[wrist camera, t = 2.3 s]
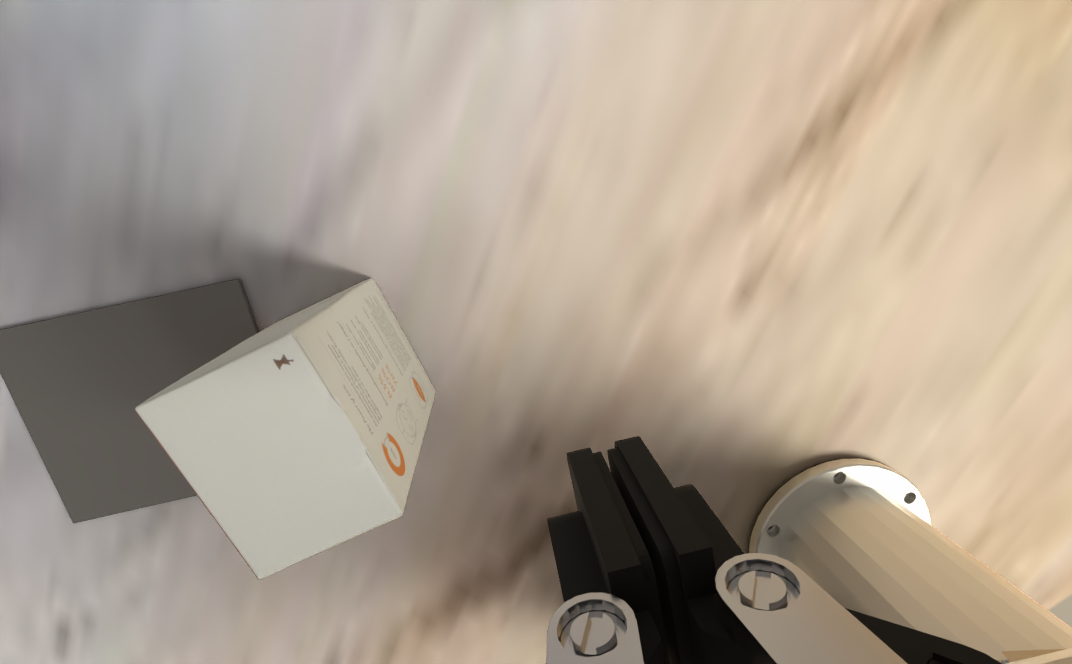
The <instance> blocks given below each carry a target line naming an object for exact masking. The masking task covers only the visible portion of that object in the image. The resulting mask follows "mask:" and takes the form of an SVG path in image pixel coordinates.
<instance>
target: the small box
mask: <svg viewBox="0 0 1072 664" xmlns="http://www.w3.org/2000/svg"><path fill="white" fill-rule="evenodd" d="M435 395H436V391H435V389H434V387H433V385H432V384H431V382H430V380H429V378H428V376H427V375H426V373H425V371H424V369H423V367H422V365H421V363H420V362H419V360H418V358H417V356H416V354H415V353H414V351H413V349H412V347H411V345H410V343H409V342H408V340H407V338H406V336H405V335H404V333H403V331H402V329H401V327H400V326H399V324H398V322H397V320H396V318H395V316H394V315H393V313H392V311H391V309H390V308H389V306H388V304H387V302H386V300H385V299H384V297H383V295H382V293H381V292H380V290H379V288H378V286H377V285H376V283H375V281H374V279H373V278H369V279H367V280H364V281H362V282H360V283H358V284H356V285H354V286H352V287H350V288H348V289H345V290H343V291H341V292H339V293H337V294H335V295H333V296H331V297H328V298H326V299H324V300H322V301H320V302H318V303H316V304H314V305H312V306H309V307H307V308H305V309H303V310H301V311H299V312H297V313H295V314H292V315H290V316H288V317H286V318H284V319H282V320H280V321H278V322H276V323H274V324H273V325H271V326H269V327H267V328H266V329H264V330H262V331H260V332H259V333H257V334H255V335H253V336H252V337H250V338H248V339H246V340H245V341H243V342H241V343H240V344H238V345H236V346H235V347H233V348H231V349H230V350H228V351H227V352H225V353H223V354H222V355H220V356H218V357H217V358H215V359H213V360H211V361H210V362H208V363H206V364H205V365H203V366H201V367H200V368H198V369H196V370H195V371H193V372H191V373H190V374H188V375H186V376H185V377H183V378H181V379H180V380H178V381H176V382H175V383H173V384H171V385H170V386H168V387H166V388H165V389H163V390H162V391H160V392H158V393H157V394H155V395H154V396H152V397H150V398H149V399H147V400H146V401H144V402H143V403H141V404H140V405H138V406H137V407H136V408H135V411H136V413H137V414H138V415H139V417H140V418H141V419H142V421H143V422H144V423H145V425H146V426H147V427H148V429H149V430H150V431H151V433H152V434H153V436H154V437H155V438H156V440H157V441H158V443H159V444H160V445H161V447H162V448H163V449H164V451H165V452H166V453H167V455H168V456H169V457H170V459H171V460H172V462H173V463H174V464H175V466H176V467H177V469H178V470H179V471H180V473H181V474H182V475H183V477H184V478H185V479H186V481H187V482H188V483H189V485H190V486H191V487H192V489H193V490H194V492H195V493H196V494H197V496H198V497H199V498H200V500H201V501H202V503H203V504H204V505H205V507H206V508H207V509H208V511H209V512H210V513H211V515H212V516H213V518H214V519H215V520H216V522H217V523H218V524H219V526H220V527H221V528H222V530H223V531H224V533H225V534H226V535H227V537H228V538H229V539H230V541H231V542H232V544H233V545H234V546H235V548H236V549H237V550H238V552H239V553H240V555H241V556H242V557H243V559H244V560H245V562H246V563H247V564H248V566H249V567H250V568H251V570H252V571H253V572H254V574H255V575H256V577H257V579H263V578H265V577H267V576H270V575H272V574H274V573H276V572H278V571H280V570H283V569H285V568H287V567H289V566H291V565H293V564H295V563H297V562H300V561H302V560H304V559H306V558H309V557H311V556H313V555H315V554H318V553H320V552H322V551H324V550H327V549H329V548H331V547H333V546H336V545H338V544H340V543H342V542H345V541H347V540H349V539H351V538H354V537H356V536H358V535H360V534H363V533H365V532H367V531H369V530H372V529H374V528H376V527H378V526H381V525H383V524H385V523H387V522H390V521H392V520H394V519H397V518H399V517H401V516H402V515H403V513H404V509H405V505H406V501H407V497H408V493H409V489H410V486H411V482H412V478H413V475H414V471H415V468H416V464H417V460H418V457H419V453H420V450H421V446H422V442H423V439H424V435H425V431H426V428H427V424H428V420H429V417H430V413H431V409H432V406H433V402H434V398H435Z"/></svg>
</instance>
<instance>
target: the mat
mask: <svg viewBox="0 0 1072 664" xmlns="http://www.w3.org/2000/svg"><path fill="white" fill-rule="evenodd" d="M257 333H259V332H258V329H257V326H256V323H255V320H254V318H253V315H252V312H251V309H250V306H249V303H248V300H247V298H246V295H245V292H244V289H243V286H242V283H241V280H240V279H236V280H231V281H226V282H222V283H217V284H212V285H208V286H203V287H198V288H194V289H189V290H184V291H180V292H175V293H170V294H166V295H161V296H156V297H152V298H147V299H142V300H138V301H133V302H128V303H124V304H119V305H114V306H110V307H105V308H100V309H96V310H91V311H86V312H82V313H77V314H72V315H68V316H63V317H58V318H54V319H49V320H44V321H40V322H35V323H30V324H26V325H21V326H16V327H12V328H7V329H2V330H0V373H1V375H2V377H3V379H4V381H5V384H6V386H7V388H8V390H9V392H10V394H11V396H12V398H13V400H14V402H15V404H16V406H17V408H18V410H19V412H20V414H21V417H22V419H23V421H24V423H25V425H26V427H27V429H28V431H29V433H30V435H31V437H32V439H33V441H34V443H35V445H36V447H37V450H38V452H39V454H40V456H41V458H42V460H43V462H44V464H45V466H46V468H47V470H48V472H49V474H50V476H51V478H52V480H53V483H54V485H55V487H56V489H57V491H58V493H59V495H60V497H61V499H62V501H63V503H64V505H65V507H66V509H67V511H68V513H69V516H70V518H71V520H72V522H73V523H77V522H82V521H86V520H91V519H95V518H99V517H104V516H108V515H112V514H117V513H121V512H126V511H130V510H134V509H139V508H143V507H148V506H152V505H156V504H161V503H165V502H169V501H174V500H178V499H183V498H187V497H191V496H196V495H197V494H196V493H195V492H194V490H193V489H192V487H191V486H190V485H189V483H188V482H187V481H186V479H185V478H184V477H183V475H182V474H181V473H180V471H179V470H178V469H177V467H176V466H175V464H174V463H173V462H172V460H171V459H170V457H169V456H168V455H167V453H166V452H165V451H164V449H163V448H162V447H161V445H160V444H159V443H158V441H157V440H156V438H155V437H154V436H153V434H152V433H151V431H150V430H149V429H148V427H147V426H146V425H145V423H144V422H143V421H142V419H141V418H140V417H139V415H138V414H137V413H136V411H135V408H136V407H137V406H138V405H140V404H141V403H143V402H144V401H146V400H147V399H149V398H150V397H152V396H154V395H155V394H157V393H158V392H160V391H162V390H163V389H165V388H166V387H168V386H170V385H171V384H173V383H175V382H176V381H178V380H180V379H181V378H183V377H185V376H186V375H188V374H190V373H191V372H193V371H195V370H196V369H198V368H200V367H201V366H203V365H205V364H206V363H208V362H210V361H211V360H213V359H215V358H217V357H218V356H220V355H222V354H223V353H225V352H227V351H228V350H230V349H231V348H233V347H235V346H236V345H238V344H240V343H241V342H243V341H245V340H246V339H248V338H250V337H252V336H253V335H255V334H257Z"/></svg>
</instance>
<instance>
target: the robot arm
mask: <svg viewBox="0 0 1072 664" xmlns="http://www.w3.org/2000/svg"><path fill="white" fill-rule="evenodd" d="M607 452H608V459H609V464H610V470H611V472H610V470H609V468H608V466H607V464H606V462H605V460H604V457H603V455H602V453H601V452H597V453H592V451H591V449H590V448H586V449H582V450H578V451H573V452H569V453H567V460H568V465H569V469H570V474H571V479H572V484H573V489H574V493H575V498H576V503H577V508H578V511H577V512H573V513H569V514H565V515H561V516H556V517H552V518H548V519H547V521H548V526H549V531H550V536H551V540H552V545H553V550H554V555H555V560H556V565H557V569H558V574H559V579H560V584H561V589H562V594H563V598H564V604H562V605H561V606H560V607H559V608H558V609H557V610H556V611H555V613H554V614H553V616H552V618H551V619H550V622H549V626H548V631H547V657H546V664H1072V628H1071V627H1070V626H1069V625H1067V624H1066V623H1065V622H1063V621H1062V620H1060V619H1059V618H1058V617H1056V616H1055V615H1053V614H1052V613H1051V612H1049V611H1048V610H1047V609H1045V608H1044V607H1043V606H1041V605H1040V604H1039V603H1037V602H1036V601H1034V600H1033V599H1032V598H1030V597H1029V596H1028V595H1026V594H1025V593H1023V592H1022V591H1021V590H1019V589H1018V588H1017V587H1015V586H1014V585H1012V584H1011V583H1010V582H1008V581H1007V580H1006V579H1004V578H1003V577H1001V576H1000V575H999V574H997V573H996V572H995V571H993V570H992V569H990V568H989V567H988V566H986V565H985V564H984V563H982V562H981V561H979V560H978V559H977V558H975V557H974V556H973V555H971V554H970V553H969V552H967V551H966V550H964V549H963V548H962V547H960V546H959V545H958V544H956V543H955V542H953V541H952V540H951V539H949V538H948V537H947V536H945V535H944V534H942V533H941V532H940V531H938V530H937V529H936V528H934V527H933V526H931V521H930V513H929V510H928V507H927V505H926V502H925V499H924V498H923V496H922V495H921V493H920V492H919V490H918V489H917V487H916V486H915V485H913V484H912V483H911V482H910V481H909V480H908V479H907V478H906V477H904V476H903V475H901V474H900V473H898V472H897V471H895V470H893V469H892V468H890V467H888V466H886V465H883V464H881V463H878V462H876V461H871V460H865V459H839V460H834V461H828V462H825V463H822V464H819V465H817V466H814V467H811V468H809V469H807V470H805V471H803V472H802V473H800V474H798V475H796V476H795V477H793V478H792V479H791V480H789V481H788V482H787V483H786V484H784V485H783V486H782V487H781V488H779V490H778V491H777V492H776V493H775V494H774V495H773V496H772V497H771V498H770V500H769V501H768V502H767V503H766V505H765V507H764V508H763V510H762V511H761V513H760V514H759V516H758V518H757V521H756V523H755V526H754V528H753V531H752V535H751V540H750V545H749V553H747V554H744V553H743V552H742V551H741V549H740V548H739V547H738V545H737V544H736V542H735V541H734V540H733V538H732V537H731V536H730V534H729V533H728V532H727V530H726V529H725V528H724V526H723V525H722V523H721V522H720V521H719V519H718V518H717V517H716V515H715V514H714V513H713V511H712V510H711V509H710V507H709V506H708V504H707V503H706V502H705V500H704V499H703V498H702V496H701V495H700V494H699V492H698V491H697V490H696V488H695V487H694V486H693V485H691V484H689V485H685V486H680V487H676V488H673V487H672V485H671V483H670V482H669V480H668V479H667V477H666V476H665V474H664V473H663V471H662V470H661V468H660V467H659V465H658V464H657V462H656V461H655V459H654V458H653V456H652V455H651V453H650V452H649V450H648V449H647V447H646V446H645V444H644V443H643V441H642V440H641V438H640V437H639V436H637V437H633V438H628V439H624V440H620V441H616V442H615V448H614V449H610V450H608V451H607Z"/></svg>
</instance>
